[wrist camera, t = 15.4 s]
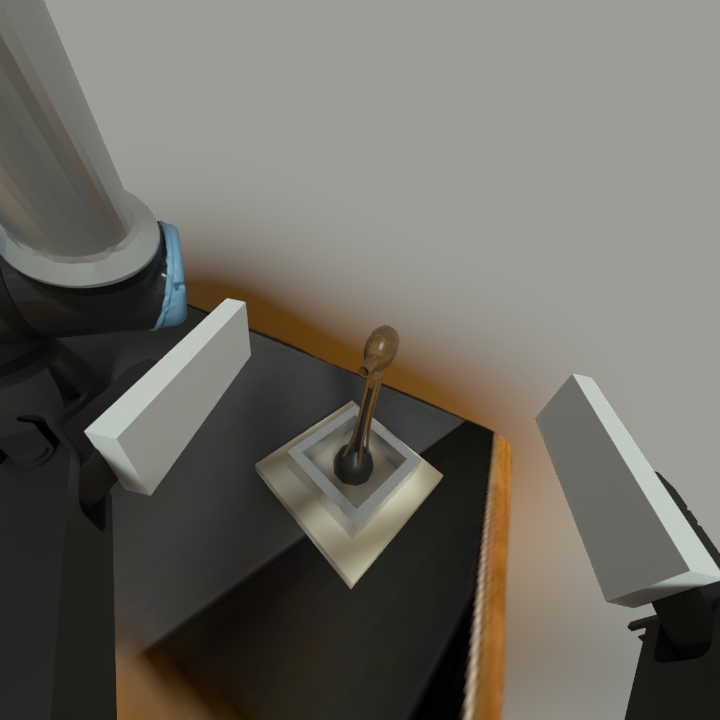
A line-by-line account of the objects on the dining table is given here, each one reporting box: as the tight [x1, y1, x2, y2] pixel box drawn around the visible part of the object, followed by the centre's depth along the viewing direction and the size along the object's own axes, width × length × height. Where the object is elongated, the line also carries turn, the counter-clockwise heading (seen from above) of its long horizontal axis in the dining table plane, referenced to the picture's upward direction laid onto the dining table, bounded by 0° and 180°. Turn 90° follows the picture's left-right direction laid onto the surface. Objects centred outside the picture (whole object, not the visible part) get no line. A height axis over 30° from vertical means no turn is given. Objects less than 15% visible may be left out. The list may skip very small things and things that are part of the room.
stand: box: [255, 401, 443, 589], centre depth 37 cm, size 16×16×2 cm
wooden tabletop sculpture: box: [333, 325, 399, 486], centre depth 30 cm, size 6×5×20 cm
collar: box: [287, 405, 421, 540], centre depth 35 cm, size 11×11×3 cm
